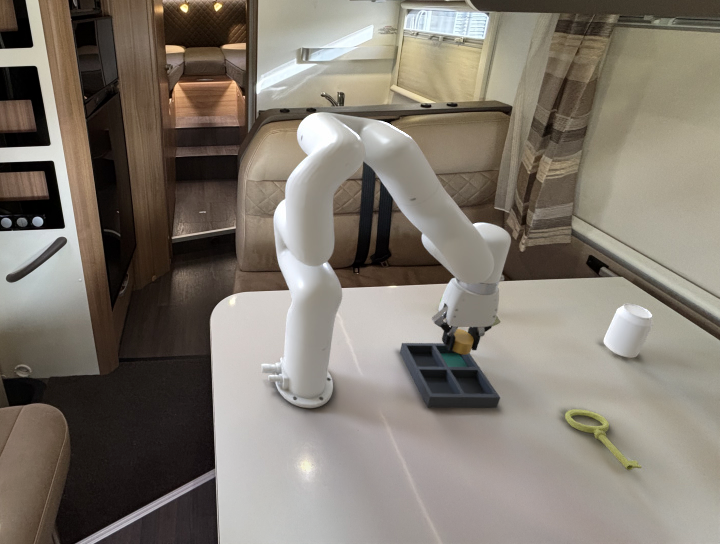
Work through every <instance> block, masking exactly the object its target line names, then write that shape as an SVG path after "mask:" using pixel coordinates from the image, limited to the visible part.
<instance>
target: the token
mask: <svg viewBox="0 0 720 544" xmlns="http://www.w3.org/2000/svg"><path fill="white" fill-rule="evenodd" d="M454 336H455V338H456V339H455V342H454V346H453V351H454V352H456V353H459V354H464V355H465V354H469V353H470V354H471V351H472V349H471V348H472V345H473V341H474V339H473V337H472V336H471V335H470V334H469V333H468V331H466V330H464V329H461V328H458V329H457V330H456V332H455V334H454Z"/></svg>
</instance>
